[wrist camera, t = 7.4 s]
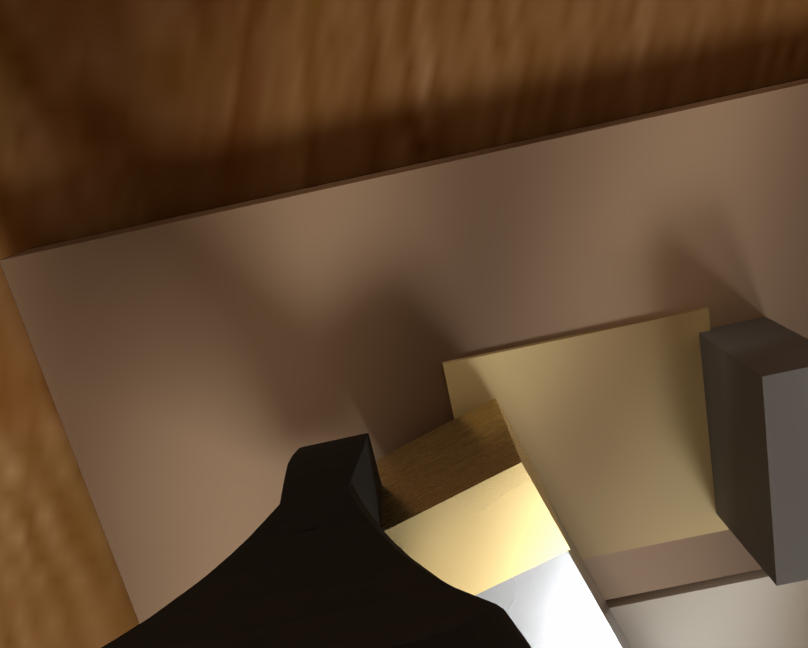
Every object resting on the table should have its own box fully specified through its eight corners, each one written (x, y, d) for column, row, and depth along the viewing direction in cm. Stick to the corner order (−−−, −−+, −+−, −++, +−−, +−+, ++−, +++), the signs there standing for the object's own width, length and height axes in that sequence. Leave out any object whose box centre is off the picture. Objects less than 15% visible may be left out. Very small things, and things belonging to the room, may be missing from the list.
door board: (879, 62, 12) (1050, 45, 9) (890, 805, 17) (1004, 959, 14) (29, 249, 12) (-87, 293, 9) (278, 920, 17) (256, 1094, 14)
